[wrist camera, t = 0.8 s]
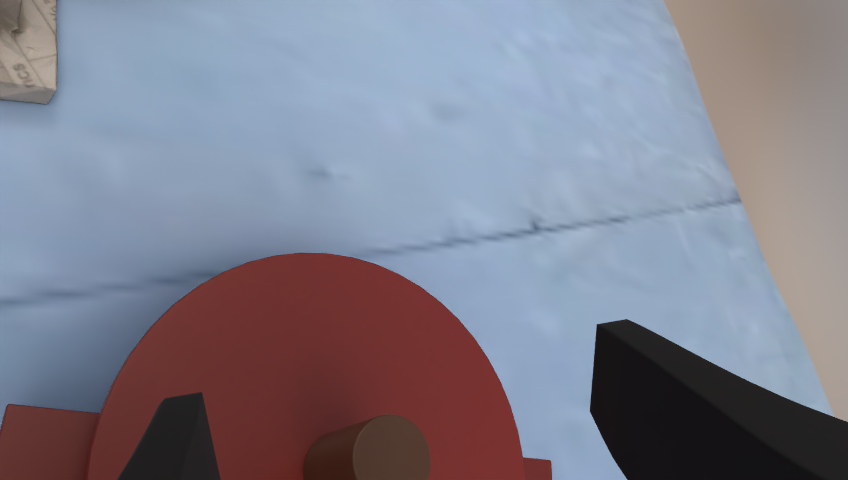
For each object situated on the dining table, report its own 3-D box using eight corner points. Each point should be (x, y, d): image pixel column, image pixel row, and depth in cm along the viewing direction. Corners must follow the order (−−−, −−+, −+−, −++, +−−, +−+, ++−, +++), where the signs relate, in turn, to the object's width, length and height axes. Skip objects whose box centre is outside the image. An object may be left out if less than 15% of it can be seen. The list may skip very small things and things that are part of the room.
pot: (486, 680, 29) (577, 701, 25) (-71, 714, 20) (-81, 757, 16) (481, 349, 34) (555, 319, 30) (40, 269, 26) (54, 212, 22)
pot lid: (513, 721, 24) (616, 751, 20) (22, 767, 17) (38, 826, 14) (503, 302, 30) (580, 265, 26) (131, 221, 23) (163, 157, 20)
